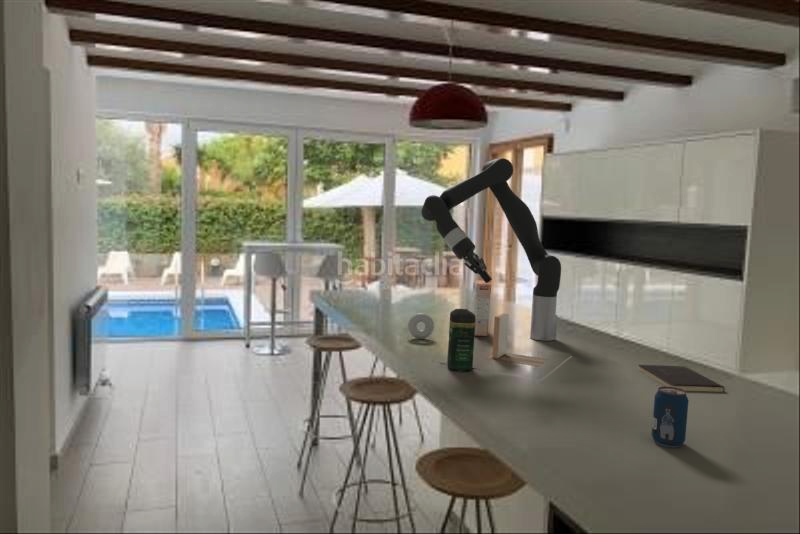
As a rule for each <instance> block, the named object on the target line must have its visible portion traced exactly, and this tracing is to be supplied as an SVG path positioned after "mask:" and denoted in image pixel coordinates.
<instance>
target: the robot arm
mask: <svg viewBox="0 0 800 534" xmlns="http://www.w3.org/2000/svg"><path fill="white" fill-rule="evenodd" d="M513 174H514V165H513V163H512V162H511V161H510V160H509V159H507V158H503V157H500V158H496V159H492V160H490V161H488V162H485V163H484V164H483V166H482V169H481V172H479V173H477V174H476V175H473V176H471V177H469V178H466V179H464V180H462V181H460V182H458V183H456V184H453V185H452V186H450V187H449V188H446V189H445V190H444V191H442V193H441V194H440V196H438V195H436V194H431V195H428V196H427V197H426V198H425V200H424V202H423V206H422V208H421V216H422V217H423V219H425V220H426V221H428V222H435V223H436V230H437V232H438V233H439V235H441V237H442V238H443V240H444V241H445V243H446V245H447V247H448V248H449V249H450V250H451V252H452V253H453V254H454V255H455V257H456V258H457V259H458V260H464V261H465V262H464V264H463V265H465V266H466V267H467V268H468V269H469V270H471V271H472V272H473V273H474V274H475V275H478V276H480V277H481V278H482V279H481V280H483V281H485V283H489V284H490V282H491V281H492V280H493V279H492V277H491V276H490V275H489V273H488V272H487V269H488V268H487V265H486V264H485V261H484V259H483V258H482V257H480V256H479V255H478V254H477V253H476V252H474V251H475V250H476V245H475V244H474V242H473V241H472V240H471V238H470V237H469V236H468V235H467V233H466V232H465V231H464V230H463V229H462V228H461V227H460V226H459V224H458V223H457V222H456V221H455V219H454V218H453V216H452V214H451V210H452V209H454V208H455V207H456V206H459V205H460V204H462V203H464V202H466V201H467V200H469V199H470V198H472V197H474V196H476V195H477V194H479V193H481V192H482V191H484V190H487V189H488V188H489V189H490V190H491V192H492V194H493V195H494V197H495V199H496V200H497V202H498V204H499V205H500V208H501V210H502V212H503V213H504V215H505V217H506V219H507V221H508V223H509V225H510V227H511V229H512V231H513V232H514V234H515V236H516V238H517V239H518V241H519V243H520V246H521V247H522V248H523V250H524V253H525V255H526V258H527V260H528V262H529V265H530V268H531V269H532V271H533V273H534V274H535V275H536V276H537V281H536V284H535V286H534V287H533V289H532V300H531V301H532V302H531V303H532V304H531V317H530V318H531V320H530V333H529V334H530V335H529V338H530V339H532V340H534V341H535V340H536V341H541V342H543V341H545V342H546V341H547V342H548V341H549V342H550V341H554V340H557V330H558V315H557V314H556V313H557V301H558V300H557V299H558V298H557V297H558V291H559V290H560V285H561V276H562V275H561V274H562V264H561V261H560V259H559V258H558V257H557V256H555V255H550V254H548V252H547V251H546V250H545V247H544V245H543V244H542V242H541V240H540V236H539V230H538V224H537V222H536V219H535V218H534V215H533V214H532V211H531V210H530V208H529V206H528V205H527V204H526V203H525V202H524V201H523V200H522V198H520V197H519V196H518V195H517V194H516V193H515V192H514V191H513V190H512V188H511V186H510V185H509V183H508V182H507V181H510V179H511V178H512V176H513Z"/></svg>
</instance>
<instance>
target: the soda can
mask: <svg viewBox="0 0 800 534" xmlns="http://www.w3.org/2000/svg"><path fill="white" fill-rule="evenodd" d="M688 409H689V398H688V396H687V391H684V390H682V389H679V388H674V387H666V386H660V387H658V388H657V391H656V392H655V394H654V401H653V413H652V414H653V415H652V422H651V425H652V427H651V438H652V440H653V441H654V443H655V444H657V445H659V446H663V447H667V448H680V447H682V445H683V444H684V443H685V442H686V436H687V435H686V434H687V423H688V411H689V410H688Z"/></svg>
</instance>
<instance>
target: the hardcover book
mask: <svg viewBox="0 0 800 534" xmlns="http://www.w3.org/2000/svg"><path fill="white" fill-rule="evenodd" d="M638 367H639V371H640V372H642V373H644V374H645V375H647V376H648V377H650V378H652V379H653V380H655V381H656V382H658V383H660V384H661V385H663V387H674V388H679V389H682V390H684V391H686V392H716V393H717V392H719V393H725V389H726V388H725V386H723V385H721V384H720V383H719V382H716V381H714V380H712V379H710V378H708V377H707V376H705V375H703V374H700V373H699V372H696V371H695V370H693V369H691V368H689V367H687V366H685V365H663V364H662V365H659V364H656V365H655V364H638Z"/></svg>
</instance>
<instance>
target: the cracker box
mask: <svg viewBox="0 0 800 534" xmlns="http://www.w3.org/2000/svg"><path fill="white" fill-rule="evenodd" d="M472 287H473V288H472V301H471V312H472V313H473V314H474V315H475V336H474V337H488V334H489V321H490V320H489V319H490V309H491V294H492V293H491V292H492V284H491V283H490V282H489V283H485V281H484V280H483V279H481V280H479V279H478V280H477V279H474V280H473V286H472Z"/></svg>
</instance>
